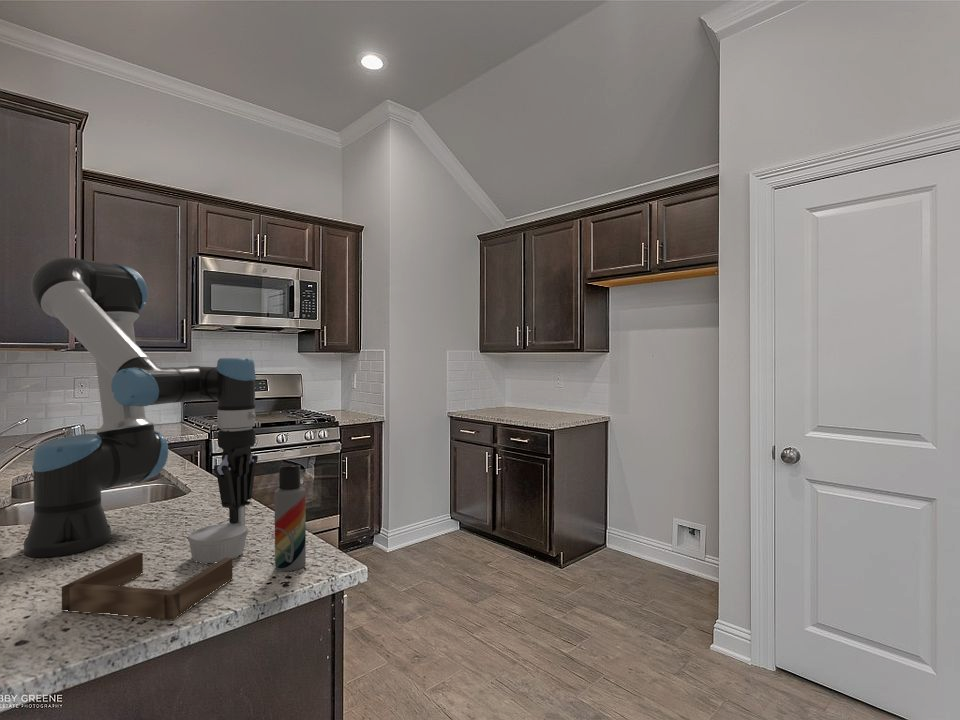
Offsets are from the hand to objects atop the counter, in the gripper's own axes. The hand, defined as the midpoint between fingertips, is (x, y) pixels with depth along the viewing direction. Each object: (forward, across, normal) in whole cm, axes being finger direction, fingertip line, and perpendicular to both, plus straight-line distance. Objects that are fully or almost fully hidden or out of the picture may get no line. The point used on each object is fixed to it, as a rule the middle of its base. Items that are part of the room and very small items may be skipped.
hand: (237, 536), depth 117 cm
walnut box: (+2, -25, 0) cm, 25 cm away
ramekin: (+2, -7, 0) cm, 7 cm away
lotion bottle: (+2, -10, -17) cm, 20 cm away
